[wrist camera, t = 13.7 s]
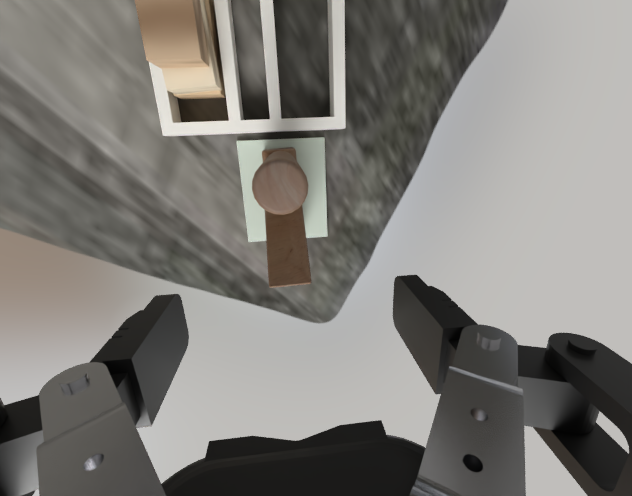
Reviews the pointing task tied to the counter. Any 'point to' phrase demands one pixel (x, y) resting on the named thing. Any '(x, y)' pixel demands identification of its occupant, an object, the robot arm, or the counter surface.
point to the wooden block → (283, 216)
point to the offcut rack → (236, 122)
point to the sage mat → (313, 165)
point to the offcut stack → (183, 45)
